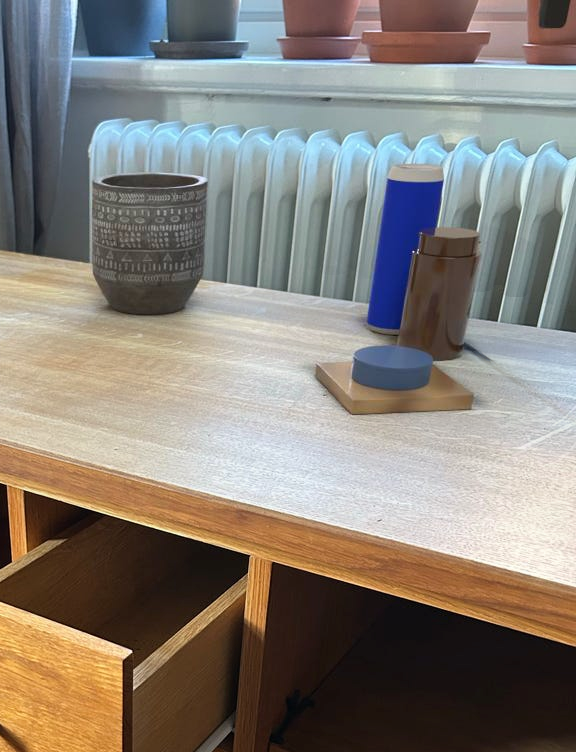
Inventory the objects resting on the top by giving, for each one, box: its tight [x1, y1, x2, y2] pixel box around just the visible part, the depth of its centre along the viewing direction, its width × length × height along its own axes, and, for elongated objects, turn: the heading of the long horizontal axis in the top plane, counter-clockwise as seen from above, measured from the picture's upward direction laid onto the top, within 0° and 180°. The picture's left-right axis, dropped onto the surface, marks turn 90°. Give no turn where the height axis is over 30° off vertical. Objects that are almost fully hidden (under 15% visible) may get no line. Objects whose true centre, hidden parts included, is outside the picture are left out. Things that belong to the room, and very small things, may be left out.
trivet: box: [314, 361, 475, 415], centre depth 81 cm, size 10×10×1 cm
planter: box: [91, 171, 209, 316], centre depth 103 cm, size 12×12×13 cm
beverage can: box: [366, 163, 445, 336], centre depth 93 cm, size 5×5×15 cm
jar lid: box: [351, 345, 434, 390], centre depth 80 cm, size 6×6×2 cm
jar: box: [396, 226, 482, 361], centre depth 88 cm, size 6×6×11 cm
